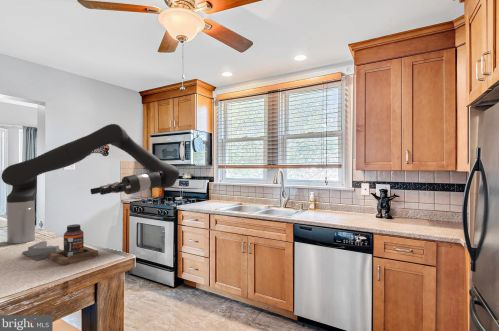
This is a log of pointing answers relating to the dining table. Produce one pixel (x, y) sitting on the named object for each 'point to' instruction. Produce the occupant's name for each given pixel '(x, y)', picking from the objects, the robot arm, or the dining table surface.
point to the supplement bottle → (73, 240)
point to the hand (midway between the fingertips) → (95, 191)
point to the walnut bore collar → (64, 260)
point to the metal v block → (40, 250)
